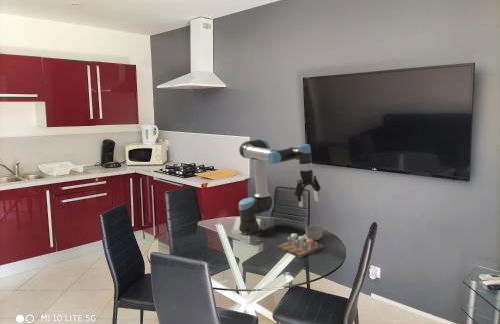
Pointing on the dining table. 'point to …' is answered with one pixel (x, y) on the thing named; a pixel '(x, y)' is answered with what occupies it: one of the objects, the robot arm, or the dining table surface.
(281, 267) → the dining table surface
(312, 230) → the teacup
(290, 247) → the button board
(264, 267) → the dining table surface
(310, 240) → the button three
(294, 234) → the button one
